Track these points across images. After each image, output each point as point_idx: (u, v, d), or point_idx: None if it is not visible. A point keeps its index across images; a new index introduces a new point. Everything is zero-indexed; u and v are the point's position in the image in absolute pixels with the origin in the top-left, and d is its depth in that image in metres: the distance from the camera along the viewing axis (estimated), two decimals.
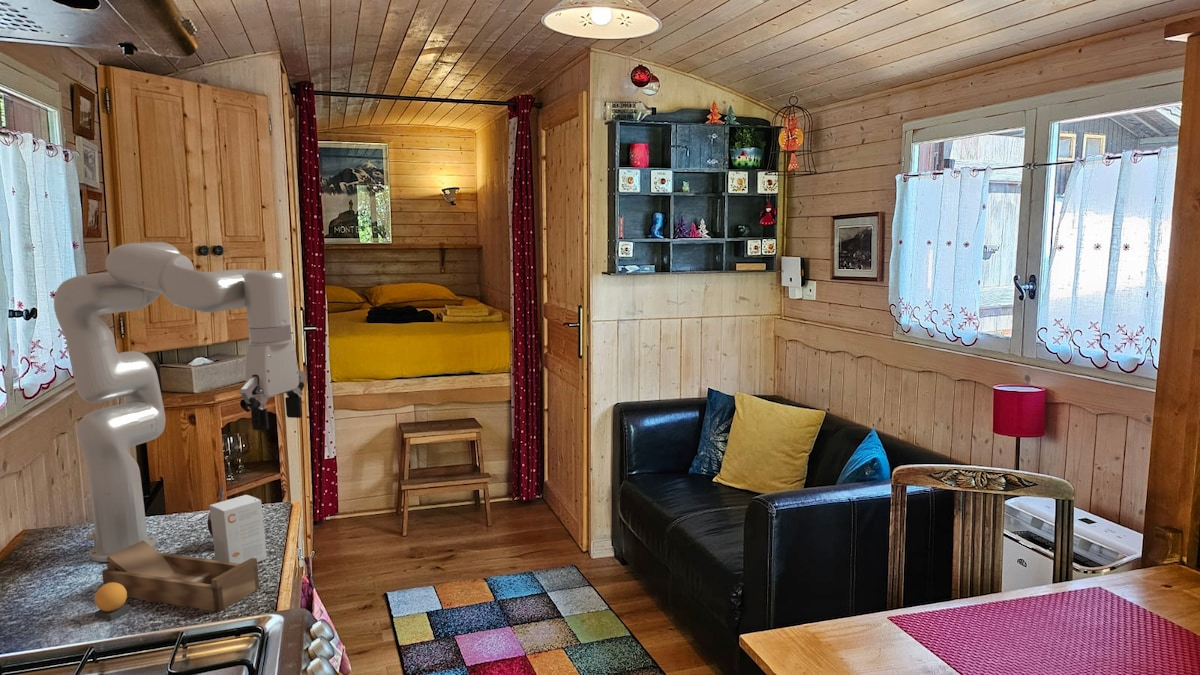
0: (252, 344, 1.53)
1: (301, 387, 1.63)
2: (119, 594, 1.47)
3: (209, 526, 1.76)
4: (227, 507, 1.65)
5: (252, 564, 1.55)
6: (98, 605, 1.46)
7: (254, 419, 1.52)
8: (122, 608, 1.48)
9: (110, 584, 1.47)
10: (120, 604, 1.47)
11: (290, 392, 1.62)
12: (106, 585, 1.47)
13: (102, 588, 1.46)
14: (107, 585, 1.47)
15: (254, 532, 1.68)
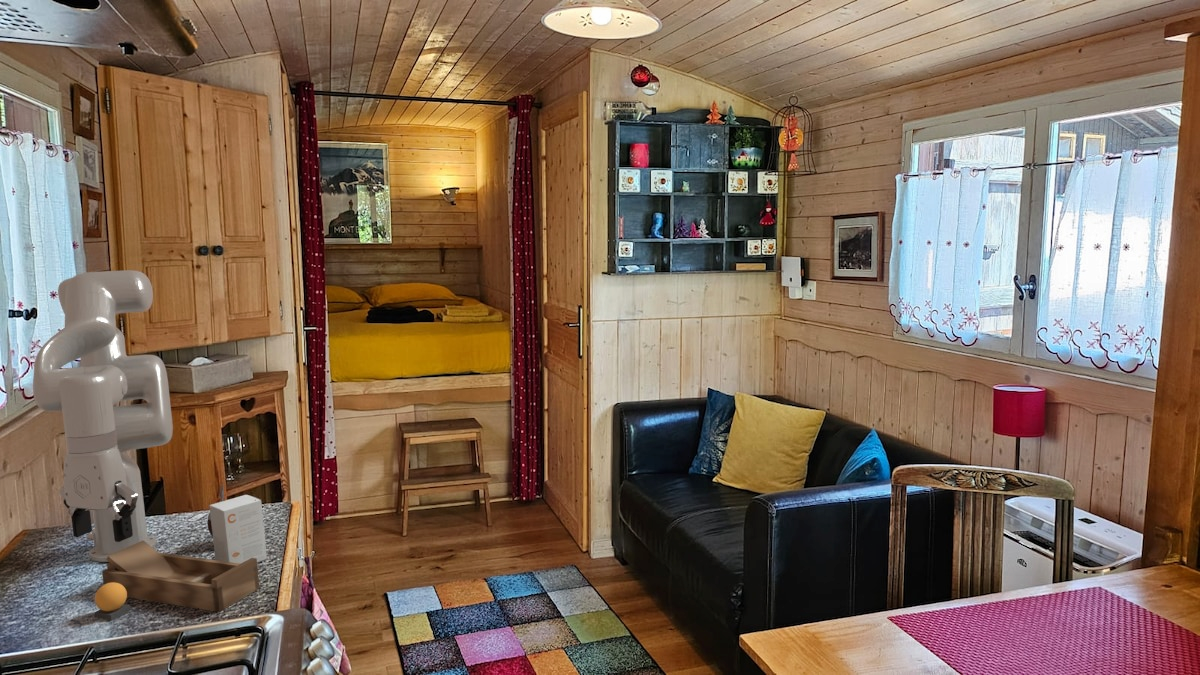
0: (101, 452, 1.41)
1: None
2: (119, 594, 1.47)
3: (209, 526, 1.76)
4: (227, 507, 1.65)
5: (252, 564, 1.55)
6: (98, 605, 1.46)
7: (124, 528, 1.43)
8: (122, 608, 1.48)
9: (110, 584, 1.47)
10: (120, 604, 1.47)
11: None
12: (106, 585, 1.47)
13: (102, 588, 1.46)
14: (107, 585, 1.47)
15: (254, 532, 1.68)
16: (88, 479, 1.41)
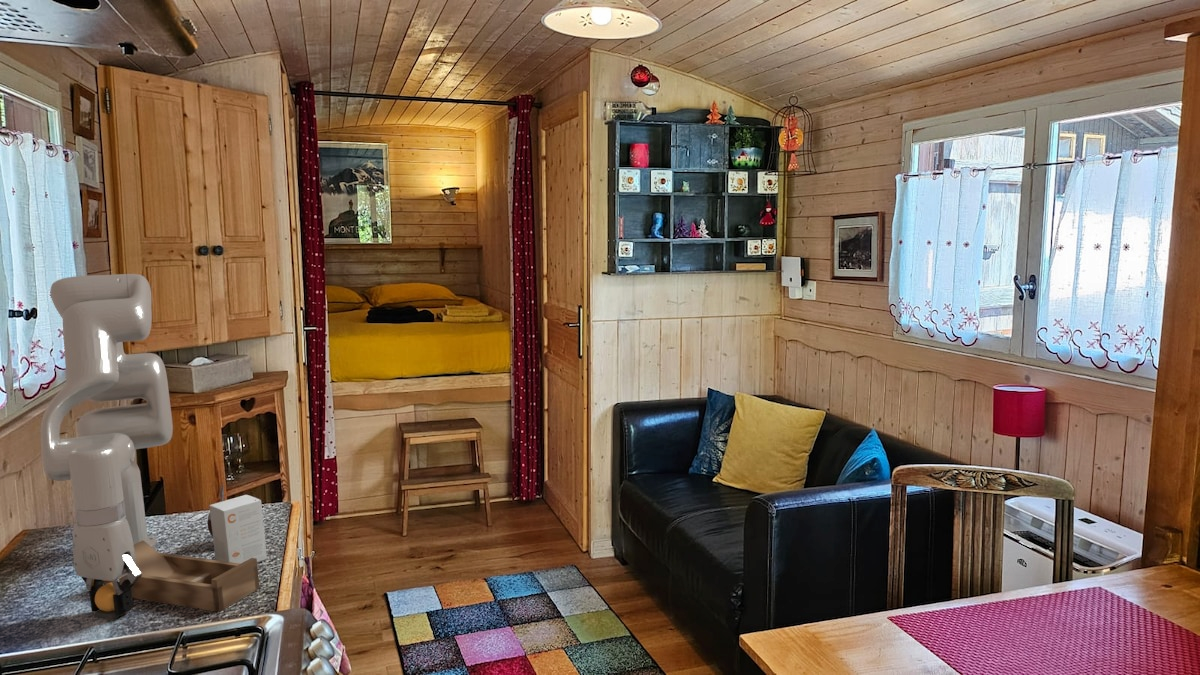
0: (110, 524, 1.43)
1: None
2: None
3: (209, 526, 1.76)
4: (227, 507, 1.65)
5: (252, 564, 1.55)
6: (98, 605, 1.46)
7: (125, 602, 1.46)
8: None
9: (110, 584, 1.47)
10: None
11: None
12: (106, 585, 1.47)
13: (102, 588, 1.46)
14: (107, 585, 1.47)
15: (254, 532, 1.68)
16: (97, 551, 1.43)
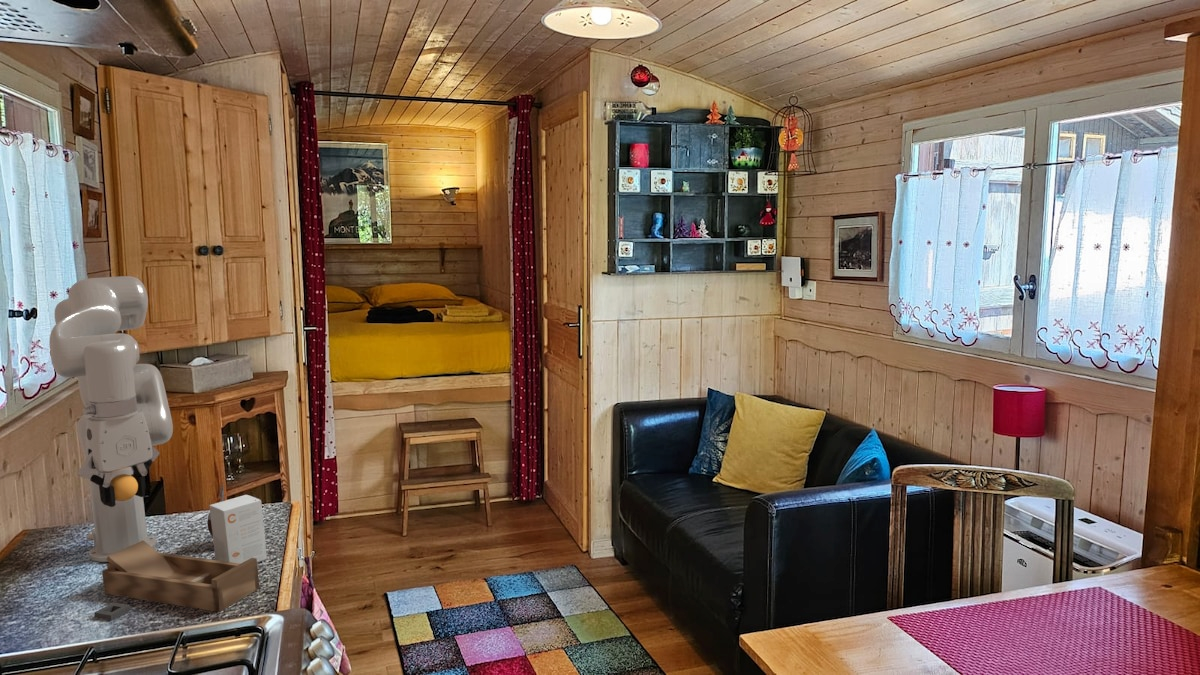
0: (137, 410, 1.55)
1: None
2: None
3: (209, 526, 1.76)
4: (227, 507, 1.65)
5: (252, 564, 1.55)
6: (129, 493, 1.54)
7: None
8: (122, 608, 1.48)
9: (123, 474, 1.55)
10: None
11: None
12: (122, 476, 1.54)
13: (124, 478, 1.54)
14: (123, 475, 1.54)
15: (254, 532, 1.68)
16: (134, 436, 1.53)
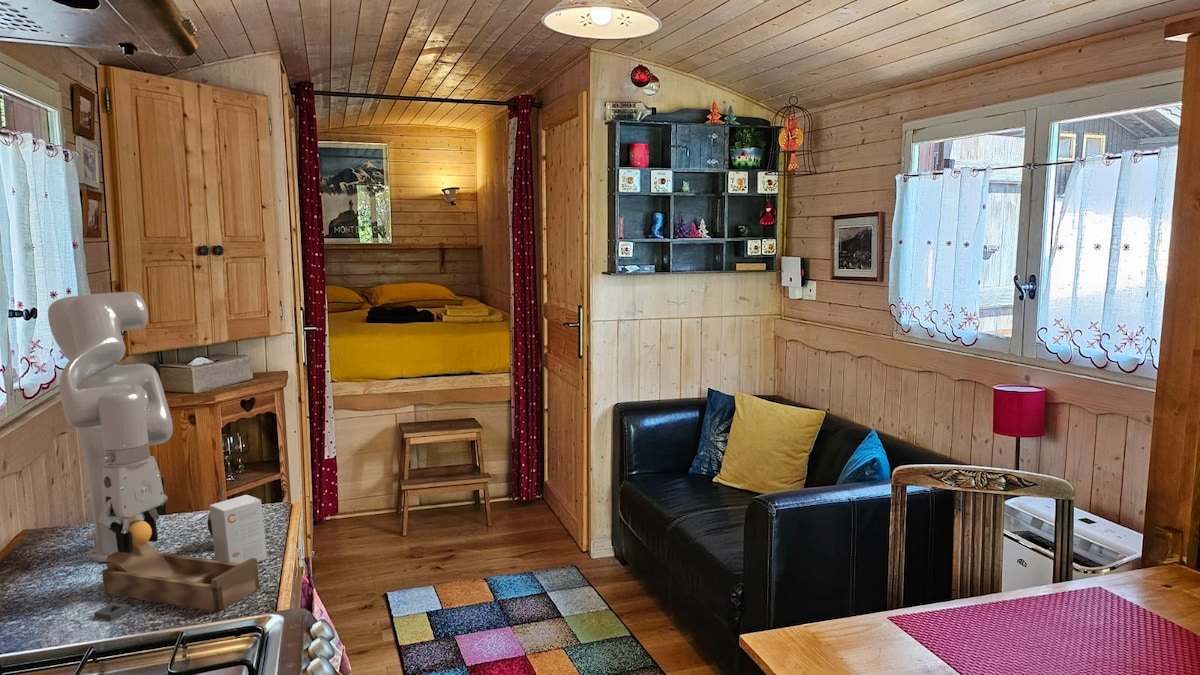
0: None
1: None
2: None
3: (209, 526, 1.76)
4: (227, 507, 1.65)
5: (252, 564, 1.55)
6: (145, 537, 1.58)
7: None
8: (122, 608, 1.48)
9: (137, 520, 1.58)
10: None
11: None
12: (137, 521, 1.58)
13: (139, 523, 1.58)
14: (138, 521, 1.58)
15: (254, 532, 1.68)
16: (149, 481, 1.58)
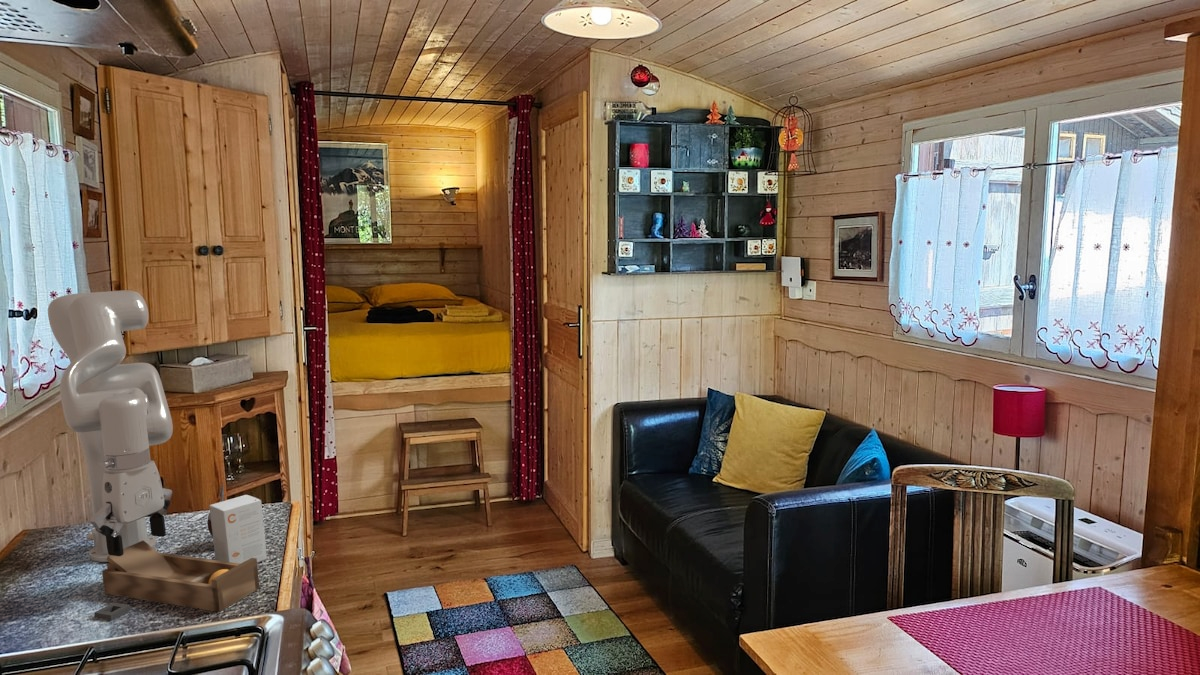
0: None
1: None
2: None
3: (209, 526, 1.76)
4: (227, 507, 1.65)
5: (252, 564, 1.55)
6: None
7: None
8: (122, 608, 1.48)
9: None
10: None
11: None
12: None
13: None
14: None
15: (254, 532, 1.68)
16: (149, 486, 1.58)
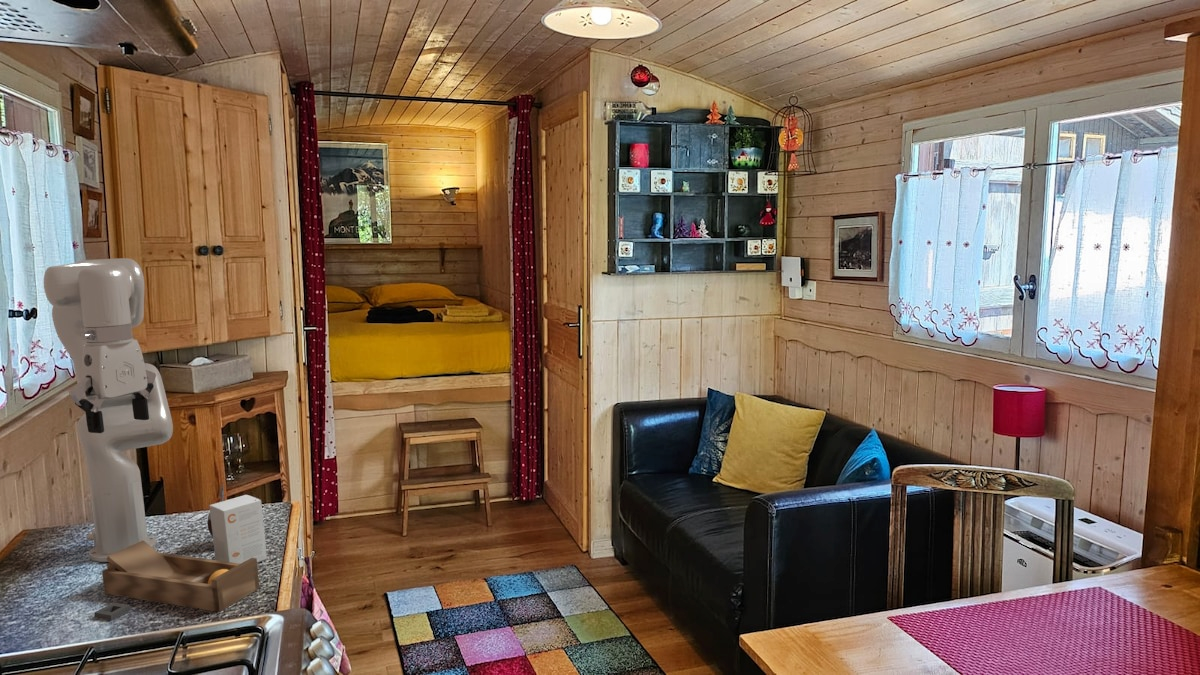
0: None
1: None
2: None
3: (209, 526, 1.76)
4: (227, 507, 1.65)
5: (252, 564, 1.55)
6: None
7: None
8: (122, 608, 1.48)
9: None
10: None
11: None
12: None
13: None
14: None
15: (254, 532, 1.68)
16: (132, 363, 1.52)
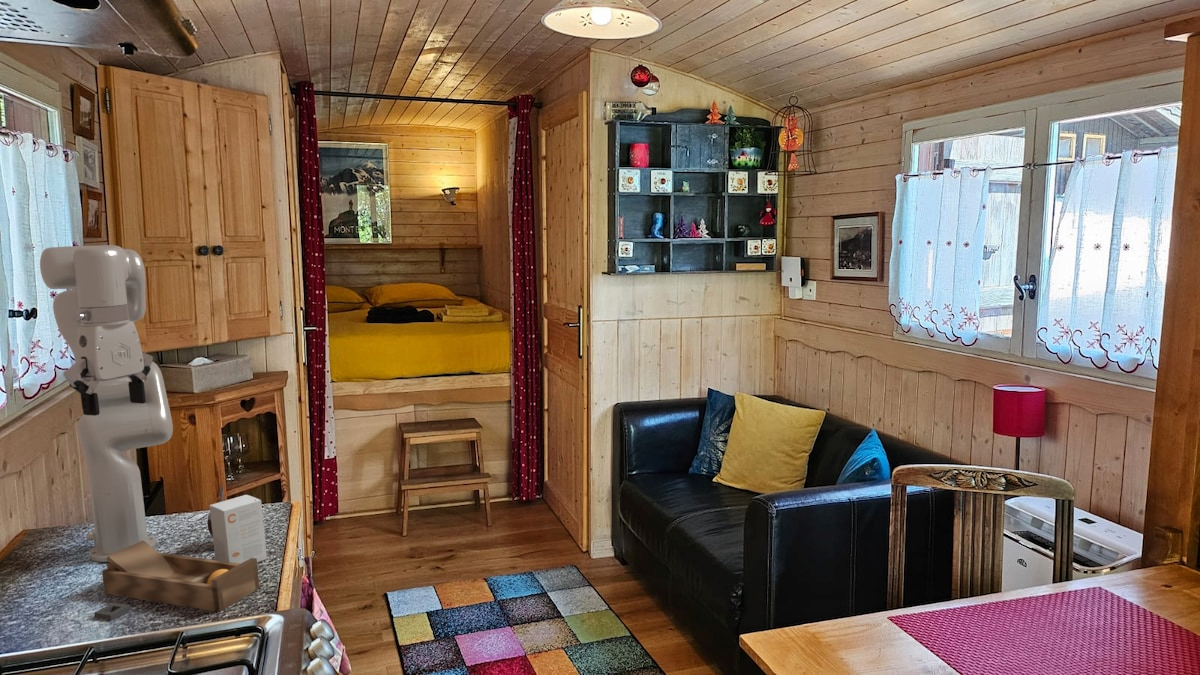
0: None
1: None
2: None
3: (209, 526, 1.76)
4: (227, 507, 1.65)
5: (252, 564, 1.55)
6: None
7: None
8: (122, 608, 1.48)
9: None
10: None
11: None
12: None
13: None
14: None
15: (254, 532, 1.68)
16: (128, 345, 1.49)
